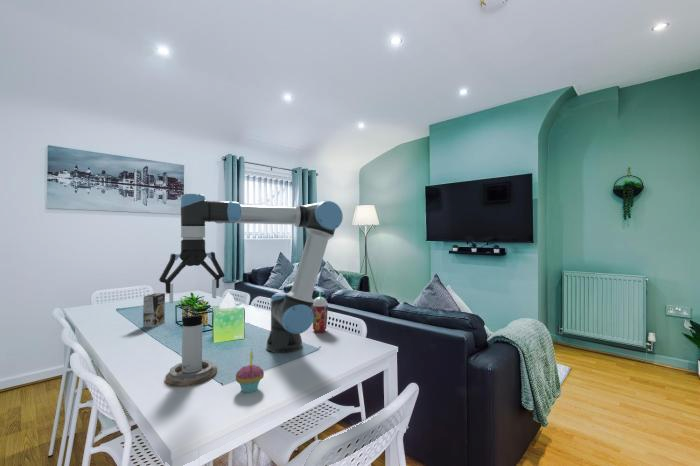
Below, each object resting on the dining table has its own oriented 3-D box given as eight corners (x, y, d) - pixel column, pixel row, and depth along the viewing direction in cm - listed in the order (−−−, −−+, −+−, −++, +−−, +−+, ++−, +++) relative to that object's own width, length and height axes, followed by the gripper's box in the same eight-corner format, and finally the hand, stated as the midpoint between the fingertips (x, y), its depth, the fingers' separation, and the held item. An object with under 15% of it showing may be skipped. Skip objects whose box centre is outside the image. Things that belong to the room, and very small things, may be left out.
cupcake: (239, 383, 105) (240, 346, 105) (265, 382, 106) (266, 346, 106) (232, 396, 97) (232, 356, 97) (261, 395, 98) (261, 356, 97)
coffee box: (154, 327, 165) (155, 296, 165) (142, 327, 165) (142, 296, 165) (165, 322, 174) (165, 293, 174) (153, 322, 175) (153, 292, 174)
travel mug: (182, 378, 106) (183, 317, 106) (180, 371, 112) (181, 313, 112) (203, 373, 110) (204, 315, 110) (200, 367, 115) (201, 311, 115)
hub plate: (225, 367, 117) (225, 359, 117) (199, 388, 102) (199, 379, 102) (185, 364, 120) (185, 357, 120) (153, 384, 104) (153, 376, 104)
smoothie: (331, 330, 163) (331, 291, 163) (321, 334, 156) (321, 293, 156) (318, 327, 168) (318, 289, 168) (307, 331, 160) (308, 291, 160)
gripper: (227, 238, 121) (227, 294, 121) (149, 239, 106) (150, 303, 106) (233, 238, 115) (233, 297, 115) (152, 239, 100) (152, 307, 100)
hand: (193, 300), depth 111 cm, fingers open, 13 cm apart
